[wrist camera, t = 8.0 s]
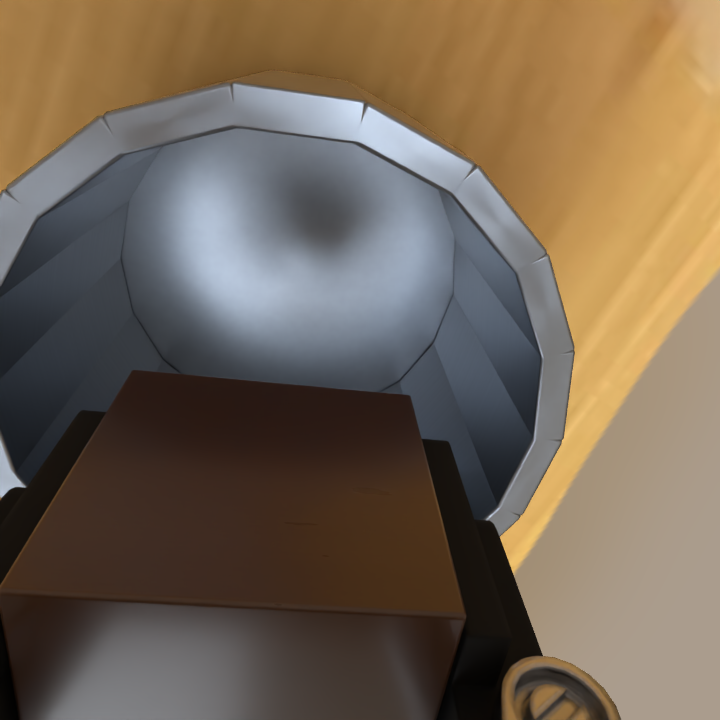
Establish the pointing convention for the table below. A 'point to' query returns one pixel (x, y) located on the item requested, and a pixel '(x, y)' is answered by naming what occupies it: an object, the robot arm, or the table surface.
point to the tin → (282, 274)
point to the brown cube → (238, 562)
